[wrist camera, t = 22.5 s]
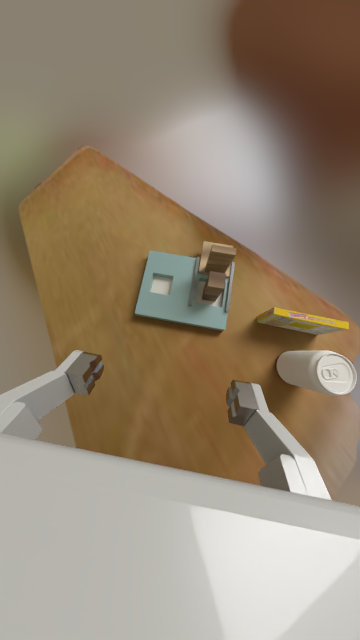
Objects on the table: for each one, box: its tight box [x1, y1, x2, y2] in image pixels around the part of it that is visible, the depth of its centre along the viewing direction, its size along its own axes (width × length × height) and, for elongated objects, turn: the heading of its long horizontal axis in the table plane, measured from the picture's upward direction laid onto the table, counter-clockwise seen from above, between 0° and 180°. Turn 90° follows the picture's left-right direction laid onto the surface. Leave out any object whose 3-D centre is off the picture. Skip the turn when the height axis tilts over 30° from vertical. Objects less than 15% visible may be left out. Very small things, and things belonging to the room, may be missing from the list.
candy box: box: [256, 307, 349, 335], centre depth 39 cm, size 16×2×8 cm, turn 78°
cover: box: [198, 241, 236, 278], centre depth 38 cm, size 9×8×10 cm
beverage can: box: [277, 351, 357, 396], centre depth 35 cm, size 8×8×12 cm
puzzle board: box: [135, 250, 235, 331], centre depth 43 cm, size 18×23×3 cm
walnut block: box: [202, 271, 226, 302], centre depth 39 cm, size 4×4×9 cm
